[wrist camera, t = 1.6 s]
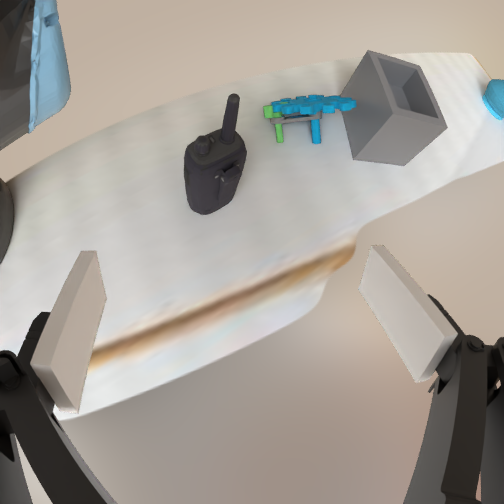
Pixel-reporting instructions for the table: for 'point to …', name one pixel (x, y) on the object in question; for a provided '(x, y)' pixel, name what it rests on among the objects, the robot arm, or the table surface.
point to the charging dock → (390, 110)
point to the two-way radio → (215, 164)
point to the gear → (305, 111)
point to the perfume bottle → (495, 98)
